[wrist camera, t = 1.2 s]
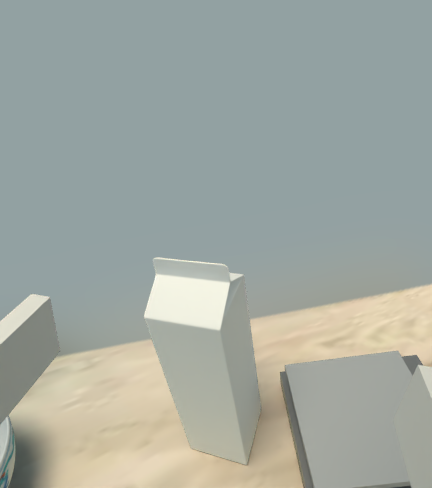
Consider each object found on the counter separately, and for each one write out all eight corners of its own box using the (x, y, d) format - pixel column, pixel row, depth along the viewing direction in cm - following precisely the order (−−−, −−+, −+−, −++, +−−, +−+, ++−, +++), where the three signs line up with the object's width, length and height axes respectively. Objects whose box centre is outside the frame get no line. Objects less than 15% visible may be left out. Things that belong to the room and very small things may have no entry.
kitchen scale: (413, 366, 40) (419, 344, 38) (493, 499, 29) (508, 478, 27) (280, 382, 41) (279, 361, 38) (310, 518, 30) (310, 499, 28)
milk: (210, 397, 40) (168, 234, 28) (262, 409, 38) (240, 239, 26) (190, 450, 36) (129, 283, 24) (247, 467, 34) (213, 293, 22)
